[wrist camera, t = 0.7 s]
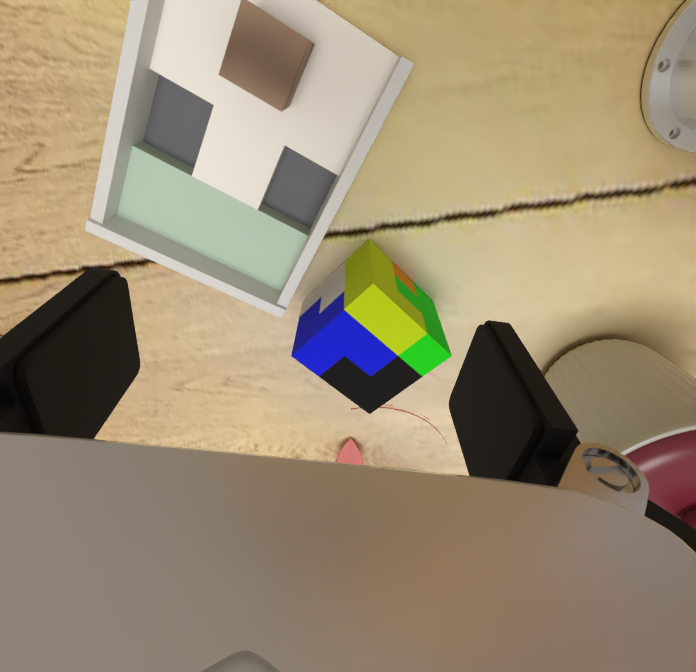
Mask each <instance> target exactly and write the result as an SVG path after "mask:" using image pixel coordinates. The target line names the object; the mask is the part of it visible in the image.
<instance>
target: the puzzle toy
mask: <svg viewBox="0 0 696 672" xmlns="http://www.w3.org/2000/svg"><path fill="white" fill-rule="evenodd" d="M291 356H292V357H293V358H295V359H296V360H297V361H299V362H300V363H301V364H303V365H304V366H305V367H307V368H308V369H309V370H311V371H312V372H314V373H315V374H316V375H318V376H319V377H320V378H322V379H323V380H324V381H326V382H327V383H328V384H330V385H331V386H332V387H334V388H335V389H336V390H338V391H339V392H341V393H342V394H343V395H345V396H346V397H347V398H349V399H350V400H351V401H353V402H354V403H355V404H357V405H358V406H359V407H361V408H362V409H363V410H365V411H366V412H368V413H369V414H370V413H372V412H373V411H375V410H376V409H377V408H379V407H380V406H382V405H383V404H385V403H386V402H387V401H389V400H390V399H392V398H393V397H394V396H396V395H397V394H399V393H400V392H401V391H403V390H404V389H406V388H407V387H408V386H410V385H411V384H413V383H414V382H415V381H417V380H418V379H420V378H421V377H423V376H424V375H425V374H427V373H428V372H430V371H431V370H432V369H434V368H435V367H437V366H438V365H439V364H441V363H442V362H444V361H445V360H446V359H448V358H449V357H451V356H452V355H451V352H450V349H449V346H448V344H447V341H446V338H445V335H444V332H443V329H442V326H441V323H440V320H439V317H438V314H437V311H436V308H435V305H434V303H433V301H432V300H431V299H430V298H429V297H428V296H427V295H426V294H425V293H424V292H423V291H422V290H421V289H420V288H419V287H418V286H417V285H416V284H415V283H414V282H413V281H412V280H411V279H410V278H409V277H408V276H407V275H406V274H405V273H404V272H403V271H402V270H401V269H400V268H399V267H398V266H397V265H395V264H394V263H393V262H392V261H391V260H390V259H389V258H388V257H387V256H386V255H385V254H384V253H383V252H382V251H381V250H380V249H379V248H378V247H377V246H376V245H375V244H374V243H373V242H372V241H371V240H370V239H368V240H367V241H366V242H365V243H364V244H363V245H362V246H361V247H360V248H359V249H358V250H357V251H356V252H355V253H353V254H352V255H351V256H350V257H349V258H348V259H347V260H346V261H345V262H344V263H343V264H342V265H341V266H340V267H339V268H338V269H337V270H336V271H335V272H334V273H332V274H331V275H330V276H329V277H328V278H327V279H326V280H325V281H324V282H323V283H322V284H321V285H320V286H319V287H318V288H317V289H316V290H315V291H314V292H312V293H311V294H310V295H309V296H308V297H307V298H306V299H305V300H304V301H303V303H302V308H301V313H300V317H299V322H298V327H297V331H296V336H295V341H294V346H293V350H292V355H291Z"/></svg>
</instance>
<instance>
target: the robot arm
mask: <svg viewBox="0 0 696 672" xmlns="http://www.w3.org/2000/svg"><path fill="white" fill-rule="evenodd" d="M659 63H660V66H659V67H658V65H659ZM641 100H642V112H643V115H644V118H645V121H646V124H647V126H648V127H649V129H650V131H651V132H652V134H653V135H654V136H655V137H656V138H657V139H658V140H660V141H661V142H662V143H664V144H666V145H668V146H670V147H672V148H675V149H679V150H683V151H688V152H696V0H686V1H685V2H684V3H683V5H682V6H681V7H680V8H679V9H678V11H677V12H676V13H675V15H674V16H673V17H672V18H671V20H670V21H669V22H668V24H667V25H666V27H665V29H664V30H663V32H662V34H661V35H660V37H659V39H658V40H657V42H656V44H655V46H654V49H653V51H652V53H651V56H650V58H649V60H648V63H647V67H646V70H645V74H644V78H643V84H642V93H641ZM139 368H140V358H139V351H138V345H137V339H136V333H135V326H134V320H133V314H132V308H131V301H130V295H129V289H128V283H127V280H126V279H125V278H124V277H121V276H120V274H119V273H118V272H117V271H114V270H106V269H99V268H90V269H88V270H87V271H85V272H84V273H83V274H82V275H80V276H79V277H78V278H77V279H75V280H74V281H73V282H71V283H70V284H69V285H68V286H66V287H65V288H64V289H62V290H61V291H60V292H59V293H57V294H56V295H55V296H54V297H52V298H51V299H50V300H48V301H47V302H46V303H45V304H43V305H42V306H41V307H39V308H38V309H37V310H36V311H34V312H33V313H32V314H30V315H29V316H28V317H27V318H25V319H24V320H23V321H22V322H20V323H19V324H18V325H16V326H15V327H14V328H13V329H11V330H10V331H9V332H7V333H6V334H5V335H4V336H2V337H1V338H0V672H696V529H695V528H693V527H692V526H690V525H688V524H687V523H685V522H684V521H682V520H680V519H679V518H677V517H676V516H674V515H673V514H671V513H669V512H668V511H666V510H665V509H663V508H661V507H660V506H658V505H657V504H655V503H654V502H652V501H650V500H649V499H648V495H649V483H648V481H647V479H646V477H645V475H644V474H643V472H642V471H641V470H640V469H639V468H638V466H637V465H636V464H634V463H633V462H632V461H631V460H630V459H629V458H628V457H626V456H624V455H623V454H621V453H620V452H618V451H617V450H614V449H612V448H610V447H608V446H606V445H602V444H598V443H589V442H586V443H582V444H581V442H580V441H579V439H578V438H577V436H576V434H577V433H578V431H579V430H578V429H577V427H576V425H575V424H574V422H573V421H572V419H571V418H570V416H569V415H568V413H567V412H566V410H565V408H564V407H563V405H562V404H561V402H560V401H559V399H558V398H557V396H556V394H555V393H554V391H553V390H552V388H551V387H550V385H549V384H548V382H547V380H546V379H545V377H544V376H543V374H542V373H541V371H540V370H539V368H538V366H537V365H536V363H535V362H534V360H533V359H532V357H531V356H530V354H529V352H528V351H527V349H526V348H525V346H524V345H523V343H522V342H521V340H520V338H519V337H518V335H517V334H516V332H515V331H514V329H513V328H512V326H511V325H510V324H509V323H504V322H496V321H489V320H488V321H486V322H485V324H484V325H479V326H478V327H477V329H476V332H475V334H474V337H473V339H472V342H471V345H470V347H469V350H468V352H467V355H466V357H465V360H464V363H463V365H462V368H461V370H460V373H459V375H458V378H457V381H456V383H455V386H454V388H453V391H452V393H451V396H450V400H449V409H450V413H451V416H452V420H453V423H454V426H455V429H456V433H457V436H458V439H459V443H460V446H461V449H462V452H463V456H464V459H465V462H466V466H467V469H468V472H469V475H470V476H464V475H454V474H445V473H435V472H425V471H416V470H406V469H396V468H387V467H377V466H367V465H357V464H348V463H338V462H328V461H317V460H307V459H297V458H287V457H277V456H266V455H256V454H246V453H235V452H225V451H215V450H204V449H193V448H182V447H171V446H161V445H150V444H139V443H128V442H117V441H106V440H96V439H94V438H95V436H96V435H97V433H98V432H99V430H100V429H101V427H102V426H103V424H104V423H105V421H106V420H107V418H108V417H109V415H110V414H111V413H112V411H113V410H114V408H115V407H116V405H117V404H118V402H119V401H120V399H121V398H122V396H123V395H124V393H125V392H126V390H127V389H128V388H129V386H130V385H131V383H132V382H133V380H134V379H135V377H136V376H137V374H138V372H139Z"/></svg>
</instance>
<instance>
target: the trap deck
mask: <svg viewBox="0 0 696 672" xmlns="http://www.w3.org/2000/svg"><path fill="white" fill-rule="evenodd" d="M248 1H250V2H251V3H253V4H254V5H256V6H258V7H259V8H261V9H262V10H264V11H265V12H267V13H268V14H270V15H271V16H273V17H274V18H276V19H278V20H279V21H281V22H282V23H284V24H285V25H287V26H288V27H290V28H291V29H293V30H294V31H296V32H298V33H299V34H301V35H302V36H304V37H305V38H307V39H308V40H310V41H311V42H313V43H314V44H315V45H314V47H313V50H312V52H311V55H310V57H309V60H308V62H307V65H306V67H305V70H304V72H303V75H302V77H301V80H300V82H299V85H298V87H297V90H296V92H295V95H294V97H293V100H292V102H291V105H290V107H288V108H286V109H285V110H283V111H282V112H281V111H279V110H278V109H276V108H274V107H272V106H271V105H269V104H267V103H266V102H264V101H262V100H261V99H259V98H257V97H255V96H254V95H252V94H250V93H249V92H247V91H245V90H244V89H242V88H240V87H239V86H237V85H235V84H233V83H232V82H230V81H228V80H227V79H225V78H223V77H222V76H220V75H218V74H219V71H220V68H221V65H222V61H223V58H224V55H225V51H226V48H227V45H228V42H229V38H230V35H231V32H232V28H233V25H234V22H235V19H236V15H237V12H238V9H239V6H240V2H241V0H131V3H130V9H129V14H128V19H127V25H126V30H125V35H124V41H123V46H122V51H121V57H120V62H119V67H118V73H117V78H116V83H115V89H114V94H113V99H112V105H111V110H110V115H109V121H108V126H107V131H106V137H105V142H104V147H103V152H102V158H101V163H100V168H99V174H98V179H97V184H96V190H95V195H94V200H93V206H92V211H91V216H90V219H88V220H87V222H86V228H85V231H87V232H90V233H92V234H94V235H96V236H99V237H101V238H103V239H105V240H107V241H110V242H112V243H114V244H116V245H119V246H121V247H123V248H125V249H128V250H130V251H132V252H134V253H137V254H139V255H141V256H143V257H145V258H148V259H150V260H152V261H154V262H157V263H159V264H161V265H163V266H166V267H168V268H170V269H172V270H175V271H177V272H179V273H181V274H183V275H186V276H188V277H190V278H192V279H195V280H197V281H199V282H201V283H204V284H206V285H208V286H210V287H213V288H215V289H217V290H219V291H221V292H224V293H226V294H228V295H230V296H233V297H235V298H237V299H239V300H242V301H244V302H246V303H248V304H251V305H253V306H255V307H257V308H260V309H262V310H264V311H266V312H268V313H271V314H273V315H275V316H277V317H280V318H282V316H283V315H284V313H285V311H286V308H287V306H288V304H289V302H290V300H291V298H292V296H293V294H294V292H295V291H296V289H297V287H298V285H299V283H300V281H301V279H302V277H303V275H304V273H305V271H306V270H307V268H308V266H309V264H310V262H311V260H312V258H313V256H314V254H315V252H316V251H317V249H318V247H319V245H320V243H321V241H322V239H323V237H324V235H325V233H326V232H327V230H328V228H329V226H330V224H331V222H332V220H333V218H334V216H335V214H336V212H337V211H338V209H339V207H340V205H341V203H342V201H343V199H344V197H345V195H346V193H347V192H348V190H349V188H350V186H351V184H352V182H353V180H354V178H355V176H356V174H357V173H358V171H359V169H360V167H361V165H362V163H363V161H364V159H365V157H366V155H367V153H368V152H369V150H370V148H371V146H372V144H373V142H374V140H375V138H376V136H377V134H378V133H379V131H380V129H381V127H382V125H383V123H384V121H385V119H386V117H387V115H388V114H389V112H390V110H391V108H392V106H393V104H394V102H395V100H396V98H397V96H398V94H399V93H400V91H401V89H402V87H403V85H404V83H405V81H406V79H407V77H408V75H409V74H410V72H411V70H412V68H413V66H414V63H412V62H411V61H409V60H408V59H406V58H405V57H403V56H397V55H396V54H394V53H393V52H391V51H390V50H388V49H387V48H386V47H384V46H383V45H381V44H380V43H378V42H377V41H375V40H374V39H372V38H371V37H369V36H368V35H366V34H365V33H364V32H362V31H361V30H359V29H358V28H356V27H355V26H353V25H352V24H350V23H349V22H347V21H346V20H344V19H343V18H342V17H340V16H339V15H337V14H336V13H334V12H333V11H331V10H330V9H328V8H327V7H325V6H324V5H322V4H321V3H320V2H318V1H317V0H248Z"/></svg>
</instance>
